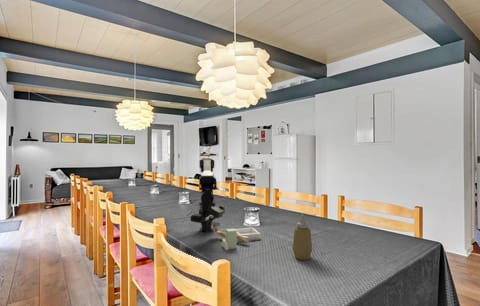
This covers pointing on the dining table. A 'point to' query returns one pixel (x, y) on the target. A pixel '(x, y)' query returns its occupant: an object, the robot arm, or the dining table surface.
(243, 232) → the tray
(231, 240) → the block
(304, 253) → the squeeze bottle
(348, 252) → the dining table surface
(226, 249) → the crank housing
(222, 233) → the crank
